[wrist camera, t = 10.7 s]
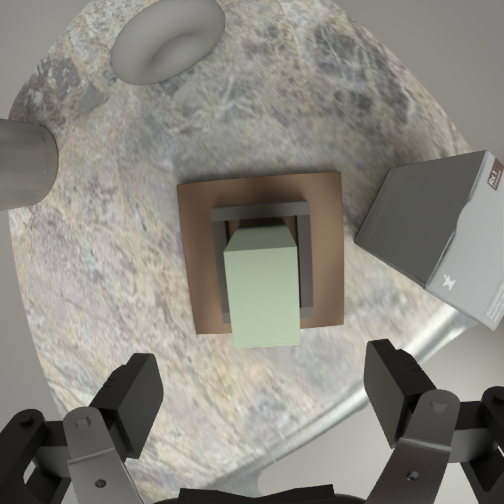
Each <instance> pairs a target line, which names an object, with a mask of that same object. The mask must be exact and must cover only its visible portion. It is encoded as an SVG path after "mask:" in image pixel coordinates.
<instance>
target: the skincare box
mask: <svg viewBox="0 0 504 504" xmlns="http://www.w3.org/2000/svg"><path fill="white" fill-rule="evenodd" d="M354 243H355V244H356V245H358V246H359V247H361V248H362V249H364V250H366V251H367V252H369V253H370V254H372V255H373V256H375V257H377V258H378V259H380V260H381V261H383V262H384V263H386V264H387V265H389V266H391V267H392V268H394V269H395V270H397V271H398V272H400V273H401V274H403V275H405V276H406V277H408V278H409V279H411V280H412V281H414V282H415V283H417V284H418V285H420V286H421V287H422V288H423V289H424V290H426V291H427V292H429V293H431V294H432V295H434V296H435V297H437V298H439V299H440V300H442V301H444V302H445V303H447V304H448V305H450V306H451V307H453V308H455V309H456V310H458V311H459V312H461V313H463V314H464V315H466V316H468V317H469V318H471V319H473V320H475V321H476V322H478V323H480V324H481V325H483V326H485V327H487V328H488V329H490V330H492V331H494V330H495V329H496V327H497V326H498V324H499V322H500V320H501V318H502V316H503V315H504V165H503V164H502V163H501V162H500V161H499V160H498V159H497V158H496V157H495V156H494V155H493V154H492V153H491V152H490V151H489V150H484V151H479V152H472V153H467V154H462V155H457V156H451V157H447V158H441V159H436V160H430V161H425V162H420V163H415V164H410V165H405V166H400V167H395V168H390V170H389V172H388V174H387V176H386V178H385V181H384V183H383V185H382V187H381V189H380V191H379V193H378V195H377V197H376V199H375V201H374V203H373V205H372V207H371V209H370V211H369V213H368V215H367V217H366V219H365V221H364V223H363V225H362V227H361V229H360V231H359V233H358V234H357V236H356V238H355V240H354Z"/></svg>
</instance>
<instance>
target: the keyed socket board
mask: <svg viewBox="0 0 504 504" xmlns="http://www.w3.org/2000/svg"><path fill="white" fill-rule="evenodd" d="M177 194H178V204H179V213H180V222H181V231H182V239H183V247H184V255H185V263H186V270H187V277H188V285H189V291H190V298H191V305H192V311H193V317H194V324H195V330H196V334H222V333H232V326H231V318H230V309H229V300H228V290H227V281H226V271H225V262H224V250H225V248H226V247H227V245H228V243H229V241H230V240H231V238H232V236H233V234H234V233H235V231H236V229H237V227H238V226H244V225H258V224H273V223H286V225H287V227H288V229H289V231H290V233H291V235H292V237H293V240H294V242H295V244H296V246H297V260H298V283H299V313H300V329H304V328H315V327H326V326H336V325H343V324H344V236H343V209H342V190H341V175H340V172H327V173H306V174H288V175H273V176H260V177H247V178H236V179H225V180H215V181H206V182H196V183H188V184H179V185H177Z"/></svg>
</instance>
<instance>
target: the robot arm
mask: <svg viewBox="0 0 504 504" xmlns="http://www.w3.org/2000/svg"><path fill="white" fill-rule="evenodd" d="M57 166H58V154H57V147H56V144H55V140H54V138H53V136H52V135H51V133H50V132H49V131H48V130H47V129H46V128H44V127H43V126H41V125H36V124H30V123H24V122H18V121H13V120H6V119H0V211H3V210H9V209H14V208H20V207H25V206H30V205H34V204H36V203H38V202H40V201H41V200H42V199H43V198H44V197H45V196H46V195H47V194H48V192H49V191H50V189H51V187H52V185H53V183H54V180H55V176H56V172H57ZM364 387H365V390H366V393H367V395H368V397H369V399H370V402H371V404H372V406H373V408H374V411H375V413H376V415H377V418H378V420H379V422H380V424H381V427H382V429H383V431H384V434H385V436H386V438H387V441H388V443H389V445H390V448H391V449H393V448H395V449H394V451H393V453H392V455H391V457H390V459H389V461H388V462H387V464H386V466H385V468H384V470H383V472H382V474H381V476H380V477H379V479H378V481H377V482H376V484H375V486H374V488H373V490H372V491H371V493H370V495H369V496H368V498H367V500H365V499H362V498H359V497H355V496H351V495H345V494H334V489H333V485H332V484H329V485H322V486H314V487H304V488H294V489H291V490H287V491H283V492H280V493H276V494H271V495H268V496H263V497H258V498H251V497H246V496H241V495H236V494H231V493H226V492H222V491H218V490H200V489H187V488H180V493H179V497H178V498H171V499H166V500H162V501H159V502H156V503H153V504H433V503H434V501H435V498H436V496H437V493H438V490H439V487H440V485H441V482H442V479H443V476H444V473H445V470H446V467H447V463H457V462H460V464H461V466H462V468H463V470H464V473H465V474H466V477H467V479H468V481H469V483H470V485H471V487H472V489H473V492H474V494H475V496H476V498H477V500H478V503H479V504H504V457H503V456H502V453H501V452H500V450H499V449H498V446H499V447H500V448H501V449H502V451H503V453H504V387H502V386H494V387H491V388H488V389H487V390H486V391H485V392H484V393H483V396H482V398H481V401H469V402H460V400H459V398H458V397H457V396H456V395H454V394H453V393H452V392H449V391H446V390H441V389H436V387H435V385H434V384H433V383H432V382H431V380H430V379H429V377H428V376H427V375H426V374H425V373H424V371H423V370H422V368H421V367H420V366H419V364H417V362H416V360H415V359H414V358H413V357H412V355H411V354H409V353H407V352H405V351H404V350H402V349H398V350H396V349H395V348H394V346H393V345H392V344H391V342H390V341H389V340H388V339H380V340H374V341H368V343H367V347H366V358H365V368H364ZM163 394H164V392H163V385H162V381H161V377H160V373H159V369H158V365H157V361H156V358H155V356H154V354H151V353H134V354H133V355H132V357H131V358H130V359H129V361H128V362H127V364H126V365H121V366H120V367H119V368H117V369H116V370H114V371H113V372H112V373H111V375H110V376H109V378H108V379H107V381H106V382H105V383H104V385H103V387H101V389H100V390H99V392H98V393H97V395H96V396H95V397H94V399H93V400H92V402H91V403H90V405H89V406H88V407H79V408H76V409H74V410H72V411H70V412H69V413H68V414H67V415H66V416H65V417H64V419H63V421H46V420H45V418H44V416H43V414H42V413H41V412H40V411H38V410H36V409H26V410H23V411H21V412H19V413H17V414H16V415H15V416H14V417H13V418H12V419H11V420H10V421H9V423H8V424H7V425H6V426H5V428H4V429H3V430H2V432H1V433H0V504H61V502H62V500H63V498H64V495H65V493H66V491H67V489H68V487H69V485H70V483H71V480H72V483H73V487H74V490H75V494H76V497H77V500H78V503H79V504H145V502H144V500H143V498H142V496H141V495H140V493H139V491H138V489H137V487H136V485H135V483H134V482H133V480H132V478H131V476H130V474H129V472H128V470H127V468H126V466H125V464H124V463H125V460H126V458H133V459H139V457H140V454H141V452H142V449H143V447H144V445H145V442H146V440H147V437H148V435H149V432H150V430H151V427H152V425H153V423H154V420H155V418H156V415H157V413H158V411H159V408H160V406H161V403H162V401H163ZM31 460H32V461H33V463H34V464H35V466H36V467H35V469H34V471H33V473H32V474H31V476H30V478H29V479H28V481H27V483H26V485H25V483H24V479H23V475H24V472H25V470H26V469H27V467H28V465H29V464H30V462H31Z"/></svg>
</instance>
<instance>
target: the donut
mask: <svg viewBox="0 0 504 504" xmlns="http://www.w3.org/2000/svg"><path fill="white" fill-rule="evenodd" d="M224 28H225V14H224V12H223V10H222V9H221V7H220V6H219V5H218V3H217V2H216V1H214V0H160V1H158V2H156V3H154V4H152V5H151V6H149V7H147V8H145V9H144V10H142V11H141V12H140V13H138V14H137V15H136V16H135V17H133V18H132V19H131V20H130V21H129V22H128V23H127V24H126V26H125V27H124V28H123V29H122V31H121V32H120V33H119V35H118V36H117V38H116V41H115V43H114V45H113V48H112V50H111V66H112V69H113V71H114V72H115V73H116V75H117V76H118V77H119V78H120V79H121V80H122V81H124V82H126V83H129V84H133V85H151V84H154V83H158V82H161V81H164V80H167V79H169V78H171V77H173V76H176V75H178V74H179V73H181V72H183V71H185V70H186V69H188V68H190V67H191V66H193V65H194V64H195V63H197V62H198V61H200V60H201V59H202V58H203V57H204V56H205V55H206V54H207V53H209V52H210V51H211V50H212V48H213V47H214V46H215V45H216V44H217V42H218V41H219V39H220V37H221V35H222V33H223V31H224Z"/></svg>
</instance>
